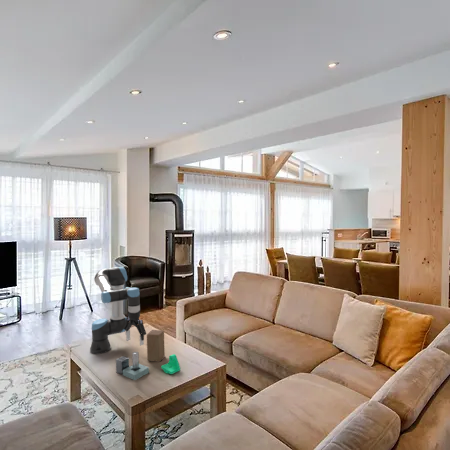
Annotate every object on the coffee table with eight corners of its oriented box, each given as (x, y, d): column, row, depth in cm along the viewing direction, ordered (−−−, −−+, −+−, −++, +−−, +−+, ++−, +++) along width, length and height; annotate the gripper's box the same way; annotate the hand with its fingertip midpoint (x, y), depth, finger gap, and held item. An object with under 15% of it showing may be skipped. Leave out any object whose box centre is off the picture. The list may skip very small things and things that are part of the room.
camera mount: (160, 369, 223) (160, 355, 222) (169, 365, 228) (169, 351, 228) (171, 375, 214) (170, 360, 214) (180, 371, 220) (180, 356, 219)
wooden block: (159, 362, 233) (159, 335, 232) (146, 361, 235) (146, 334, 234) (165, 356, 243) (164, 330, 242) (152, 355, 245) (152, 329, 244)
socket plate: (122, 375, 216) (122, 370, 216) (137, 367, 226) (136, 362, 225) (134, 380, 209) (134, 375, 209) (148, 372, 219) (148, 367, 219)
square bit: (116, 372, 220) (115, 359, 219) (123, 368, 225) (123, 356, 224) (122, 374, 216) (121, 361, 216) (129, 371, 221) (128, 358, 221)
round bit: (131, 373, 217) (131, 353, 216) (136, 371, 220) (135, 351, 219) (135, 375, 215) (135, 354, 214) (140, 373, 218) (139, 352, 217)
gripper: (117, 309, 220) (118, 340, 222) (142, 316, 206) (143, 348, 207) (126, 306, 227) (127, 336, 228) (151, 313, 212) (152, 344, 214)
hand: (134, 342), depth 218 cm, fingers open, 13 cm apart
